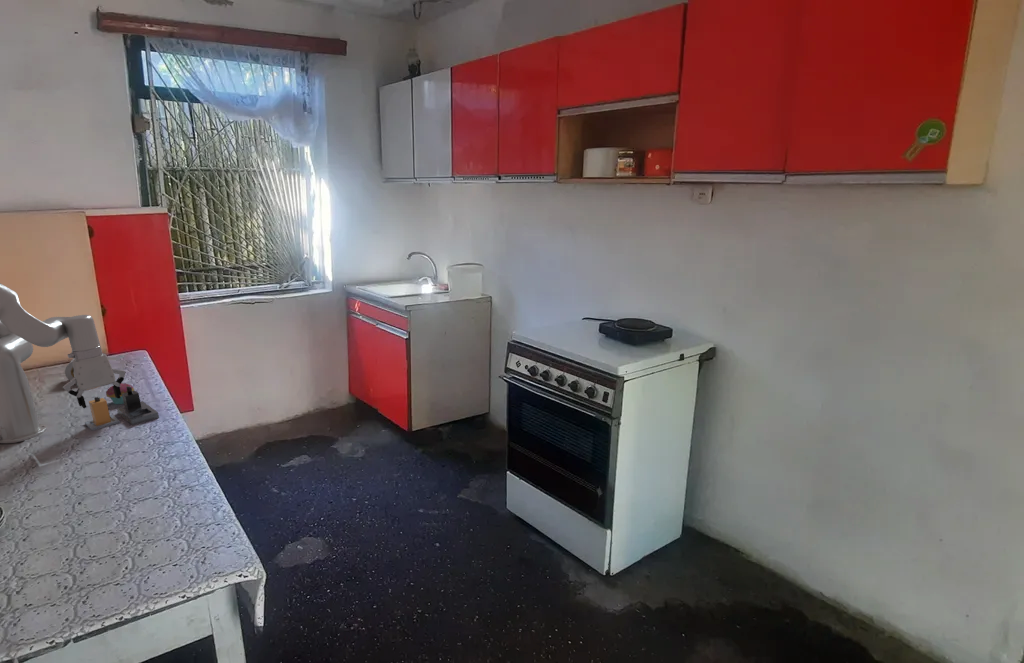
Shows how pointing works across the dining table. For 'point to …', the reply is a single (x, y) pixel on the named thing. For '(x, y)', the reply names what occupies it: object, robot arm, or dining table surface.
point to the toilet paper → (69, 371)
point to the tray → (94, 427)
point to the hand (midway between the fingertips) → (101, 402)
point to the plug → (99, 411)
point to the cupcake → (123, 389)
